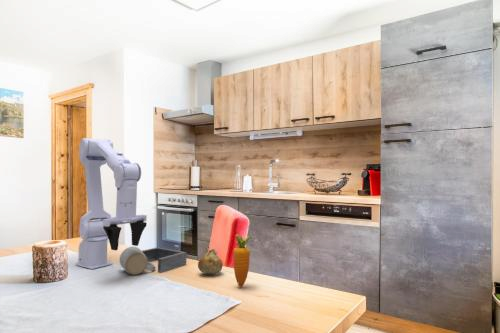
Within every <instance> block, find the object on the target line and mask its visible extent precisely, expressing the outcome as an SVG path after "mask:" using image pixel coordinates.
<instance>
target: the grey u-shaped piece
mask: <svg viewBox="0 0 500 333" xmlns="http://www.w3.org/2000/svg"><path fill="white" fill-rule="evenodd" d="M141 251H142V252H143V253H144V254H145V256H146V257H147V261H148V262H150V263H153V262H155V261H157V273H158V274H162V273H165V272H168V271H172V270H174V269H177V268H180V267H185V266H187V255H188V254H187V251H182V250H175V249H169V248H164V247H159V246H157V247H153V248H148V249H144V250H141Z"/></svg>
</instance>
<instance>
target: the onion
mask: <svg viewBox="0 0 500 333" xmlns="http://www.w3.org/2000/svg"><path fill="white" fill-rule="evenodd" d="M223 267H224V265H223V260H222V259H221V258H220V257H219V256H218V251H217V250H215V248H211V249H210V250H209V251H207V253H205V255H203V256H202V257H201V258H200V259H199V260H198V262H197V268H198V270H199V271H200V273H202V274H204V275H205V276H215V275H217V274H219V273H220V272H221V271H222V269H223Z"/></svg>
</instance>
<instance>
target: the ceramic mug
mask: <svg viewBox="0 0 500 333" xmlns="http://www.w3.org/2000/svg"><path fill="white" fill-rule="evenodd" d="M142 251H143V250H141V249H140V248H139V247H138V246H129V247H127V248H125V249H124V250H123V251H122V252H121V254H120V255H119V263H120V266H121V267H122V268H123V269H124V271H126V273H127V274H129V275H133V276H137V275H140V274H142V273H143V272H144V271H145V270H147V271H150V272H153V271H155V269H156V265H155V264H153V262H148V261H147V257H146V256H145V254H144V253H143V252H142Z"/></svg>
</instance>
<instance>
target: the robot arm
mask: <svg viewBox="0 0 500 333" xmlns="http://www.w3.org/2000/svg"><path fill="white" fill-rule="evenodd" d="M78 146H79V147H78V155H79V156H78V157H79V161H80V164H82V165H83V166H84V173H85V186H86V197H87V198H86V200H87V212H85V214H84V215H82V216H81V217H80V219H79V228H78V232H79V237H80V238H81V239H82V240H81V241H80V242H79V245H78V255H77V256H78V258H77V259H78V260H77V261H78V262H76V263H75V266H78V267H82V268H86V269H90V270H94V269H98V268H102V267H106V266H111V265H113V262H110V261H108V242H109V245H110V249H111V250H112V251H118V250H119V239H120V233H121V231H122V227H120V226H118V225H124V224H125V225H126V224H129V226H130V231H131V232H130V233H131V245H132V246H133V247H138V246H139V243H140V239H141V238H142V237H141V236H142V235H143V232H144V230H145V229H146V227H147V218H148V217H147V216H148V215H146V214H137V198H138V197H137V196H138V193H137V192H138V190H137V189H138V182H139V181H140V180H141V177H142V168H141V166H140V164H139V163H137V162H134V163H132V162H131V161H130V160H129V159H128V158H127V157H125V155H124V153H123V152H121V151H115V149H114V143H113V142H112V140H110V139H107V140H106V139H99V138H87V137H83V138H82V139H81V140H80V142H79V145H78ZM103 165H106V166H108V167H109V169H111V171H112V172H113V178H114V185H115V188H116V208H115V217H112V215H111V214H110V213H109V212H107V211H106V210H105V209H104V201H103V200H104V198H103V187H102V186H103V184H102V176H101V167H102V166H103Z"/></svg>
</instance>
